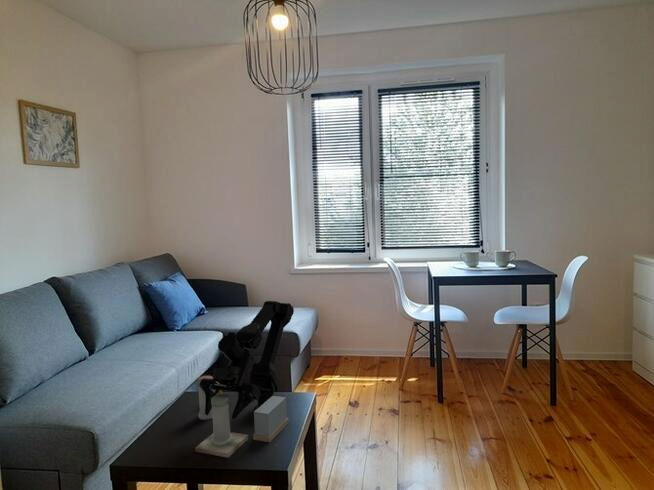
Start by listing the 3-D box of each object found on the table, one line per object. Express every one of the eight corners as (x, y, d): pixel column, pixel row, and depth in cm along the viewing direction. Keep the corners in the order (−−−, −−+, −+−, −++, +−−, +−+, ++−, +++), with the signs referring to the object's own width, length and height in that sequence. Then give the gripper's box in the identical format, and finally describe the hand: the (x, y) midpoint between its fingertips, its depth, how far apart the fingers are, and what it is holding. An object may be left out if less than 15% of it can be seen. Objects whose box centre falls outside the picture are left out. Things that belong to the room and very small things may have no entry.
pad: (217, 433, 142) (217, 429, 142) (248, 438, 138) (248, 434, 138) (195, 451, 132) (195, 447, 132) (228, 457, 128) (227, 453, 128)
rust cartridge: (205, 410, 159) (203, 374, 158) (220, 413, 157) (218, 376, 156) (194, 418, 153) (192, 380, 152) (209, 420, 151) (207, 382, 150)
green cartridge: (213, 436, 138) (211, 394, 137) (234, 434, 138) (231, 393, 137) (210, 446, 132) (207, 403, 131) (231, 445, 132) (228, 401, 131)
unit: (273, 420, 150) (272, 395, 149) (288, 422, 148) (287, 397, 147) (253, 439, 138) (251, 412, 137) (269, 442, 136) (268, 414, 135)
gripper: (200, 352, 141) (179, 402, 131) (253, 357, 134) (235, 410, 125) (216, 368, 149) (197, 416, 139) (267, 374, 142) (251, 424, 133)
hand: (219, 416), depth 134 cm, fingers open, 9 cm apart
